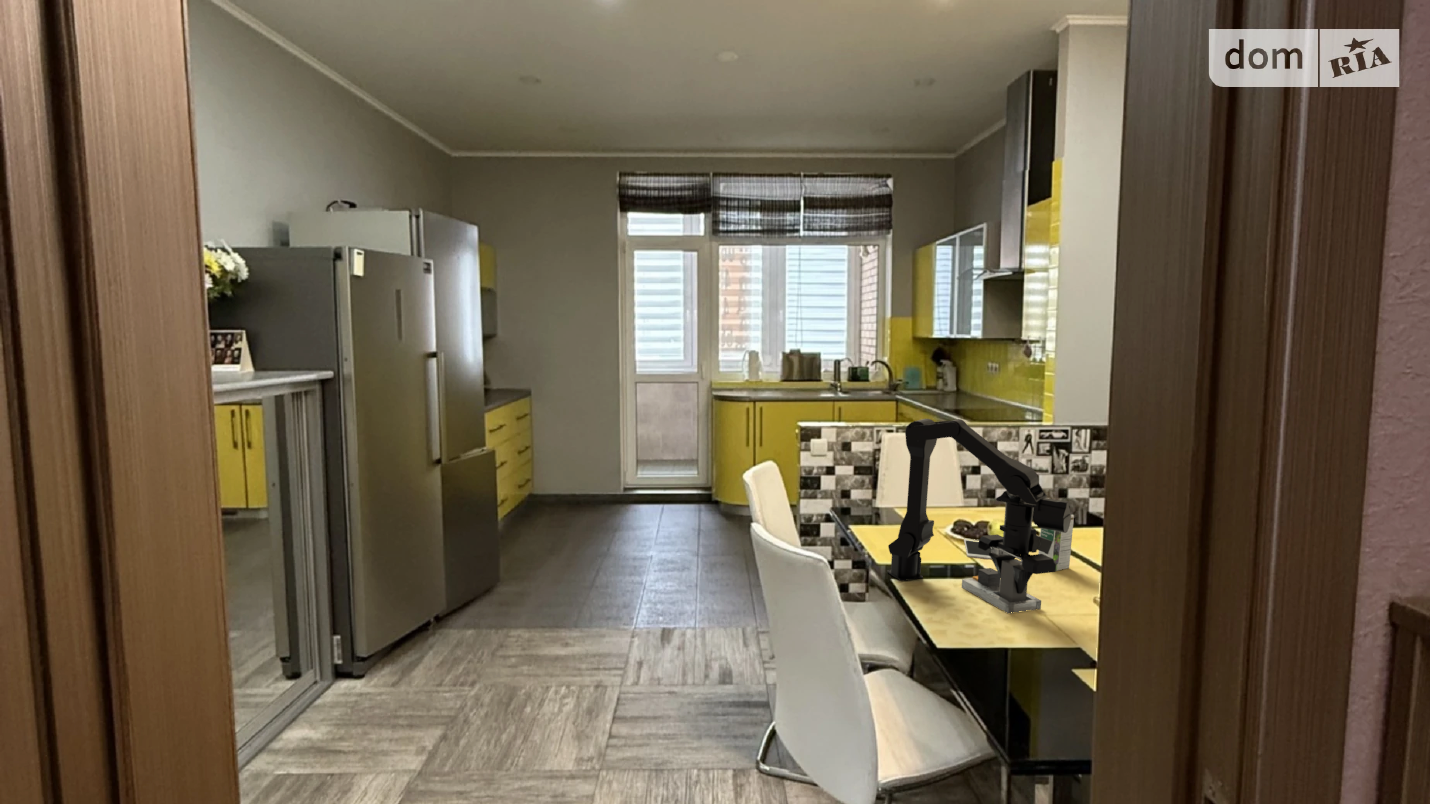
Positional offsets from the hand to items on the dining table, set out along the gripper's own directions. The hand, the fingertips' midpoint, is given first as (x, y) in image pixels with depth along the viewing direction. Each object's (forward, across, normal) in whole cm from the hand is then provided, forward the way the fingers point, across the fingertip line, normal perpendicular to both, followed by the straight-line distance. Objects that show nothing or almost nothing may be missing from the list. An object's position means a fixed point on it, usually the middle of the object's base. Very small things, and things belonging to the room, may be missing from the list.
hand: (1012, 589), depth 166 cm
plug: (+3, 0, 0) cm, 3 cm away
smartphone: (+4, +34, -18) cm, 39 cm away
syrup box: (+4, +18, -28) cm, 34 cm away
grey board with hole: (+4, +4, 0) cm, 5 cm away
